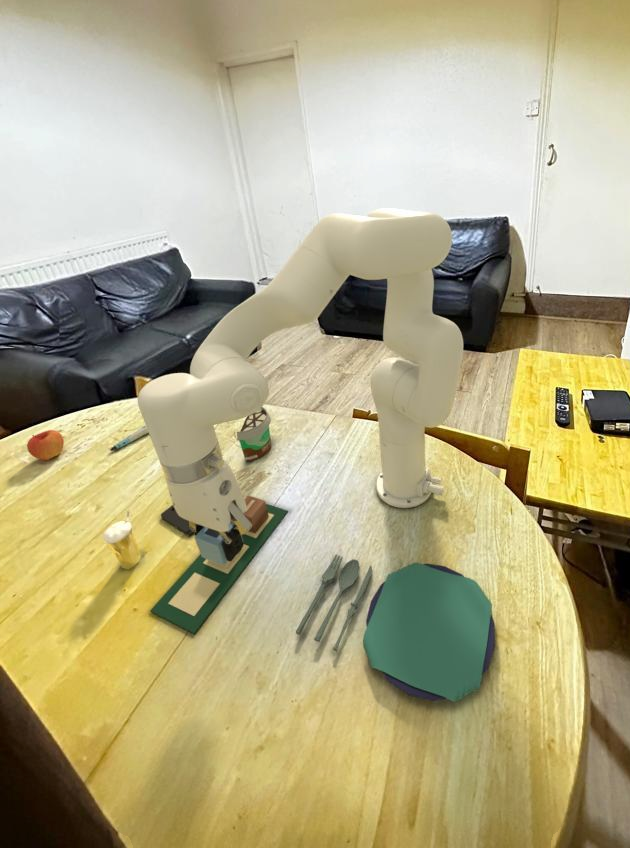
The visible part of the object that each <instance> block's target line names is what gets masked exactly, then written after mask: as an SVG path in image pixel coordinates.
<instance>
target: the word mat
mask: <svg viewBox="0 0 630 848" xmlns="http://www.w3.org/2000/svg"><path fill="white" fill-rule="evenodd" d="M266 506H267V511H268V515H269V517H268V518H267V520H266V521H265V522H264V523H263V525H262V526H261V527H260V528H259V530H258V531H257V532H256V533H252V532H249V531H248V532H247V533H245V534H242V539H243V544H244V545H243V547H242V548H243V549H242V550H241V551H240V553H239V554H238V555H237V556H236V558H235V559H234V560H233V561H232V563H231V564H230V565H229V566H228V568H227V569H226V568H223V567H221V566H218V565H216V564H214V563H211V562H209V561H208V559H205V558H203V557H202V556H201V554H199V555H198V556H197V557H196V558H195V559H194V561H192V563H191V564H190V565H189V567H187V569H186V570H185V571H184V572H183V573H182V574H181V576H179V578H178V579H177V580H176V581H175V582H174V583H173V584H172V585H171V586H170V588H169V589H168V590H167V591H166V592H165V593H164V594H163V596H162V597H161V598H159V600H158V601H157V602H156V603H155V604H154V605H153V607H152V608H151V609H150V610H149V611H150V613H152V614H153V615H155V616H158V617H160V618H161V619H163V620H165V621H167V622H169V623H171V624H173V625H175V626H177V627H178V628H181V629H182V630H185V631H187V632H189V633H191V634H193V635H196V633H197V632H198V631H199V629H200V628H201V627H202V625H204V623H205V622H206V620H207V619H208V617H209V616H210V615H211V614H212V613H213V611H214V610H215V608H216V607H217V606H218V605H219V603H220V602H221V600H222V599H223V598H224V597H225V595H226V594H227V593H228V591H229V590H230V589H231V587H232V586H233V585H234V584H235V582H236V581H237V580H238V578H239V577H240V576H241V574H242V573H243V572H244V571H245V569H246V568H247V566H248V565H249V564H250V562H252V560H253V558H254V557H255V556H256V555H257V554H258V552H259V551H260V550H261V548H262V547H263V545H264V544H265V543H266V541H267V540H268V539H269V537H270V536H271V535H272V534H273V532H274V531H275V529H276V528H277V527H278V526H279V524H280V523H281V522H282V521H283V520H284V518H285V516H286V515H287V514H288V512H289V511H288V510H287V509H284V508H282V507H278V506H275V505H271V504H269V503H266Z"/></svg>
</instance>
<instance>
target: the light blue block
mask: <svg viewBox="0 0 630 848" xmlns="http://www.w3.org/2000/svg"><path fill="white" fill-rule="evenodd" d="M231 528H233V527H232V525H231V523H230V525H229V531H230V530H231ZM229 531H228V532H229ZM241 537H242V535H241ZM193 538H194V540H195V543H196V546H197V548H198V550H199V551H198V552H199V553H200V554H201V556H202V557H203V558H205V559H208V560H210V561H213V562H215V563H218V564H221V565H223V566H224V565H225V564H226V563H227V562H228V561H227V559H226V556H225V553H224V550H223V547H222V542H223V539H222V537H221V535H220V533H219V532H218V531H216V530H213V529H210V528H207V527H203V528H202V529H201V530H200V532H199V533H198V534H197V535H196V536H195V535H194V537H193ZM242 540H243V539H242ZM200 554H199V555H200Z"/></svg>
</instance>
